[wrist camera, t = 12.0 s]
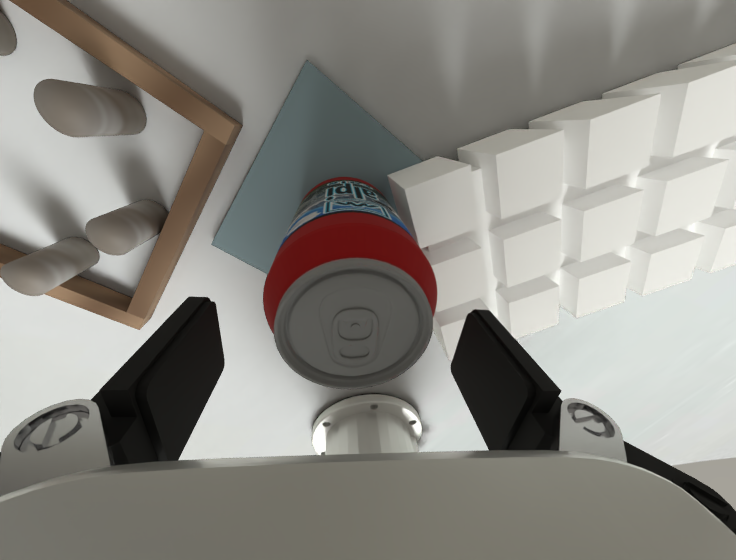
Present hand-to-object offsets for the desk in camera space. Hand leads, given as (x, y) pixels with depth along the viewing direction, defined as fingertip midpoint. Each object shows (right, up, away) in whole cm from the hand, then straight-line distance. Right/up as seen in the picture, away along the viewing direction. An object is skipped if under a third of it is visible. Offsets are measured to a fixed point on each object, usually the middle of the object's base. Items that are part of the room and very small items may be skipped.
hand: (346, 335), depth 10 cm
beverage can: (-1, +6, +9) cm, 11 cm away
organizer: (+21, +10, +10) cm, 25 cm away
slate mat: (-1, +6, +10) cm, 12 cm away
